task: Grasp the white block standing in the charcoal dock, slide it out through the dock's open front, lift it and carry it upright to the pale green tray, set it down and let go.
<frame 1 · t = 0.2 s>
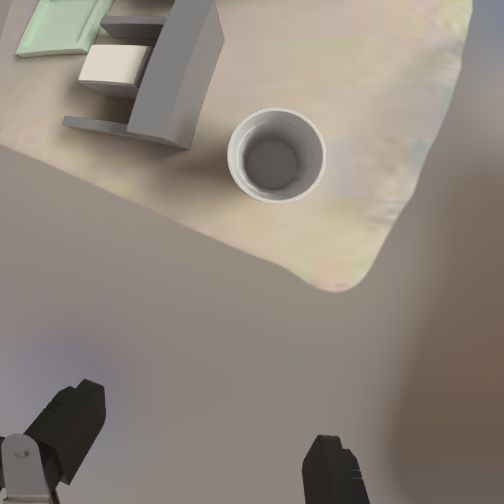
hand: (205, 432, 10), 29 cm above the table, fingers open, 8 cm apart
cup: (271, 164, 36), on the table
tray: (67, 21, 31), on the table
bay: (141, 81, 33), on the table
white block: (135, 81, 33), on the table
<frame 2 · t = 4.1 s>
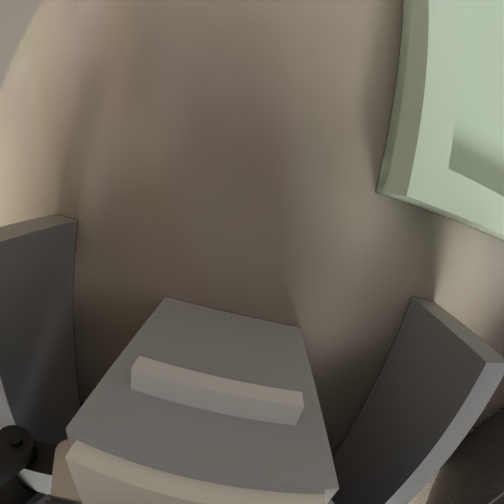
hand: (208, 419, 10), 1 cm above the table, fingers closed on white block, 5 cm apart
bay: (210, 412, 12), on the table
white block: (213, 396, 12), on the table, touching gripper
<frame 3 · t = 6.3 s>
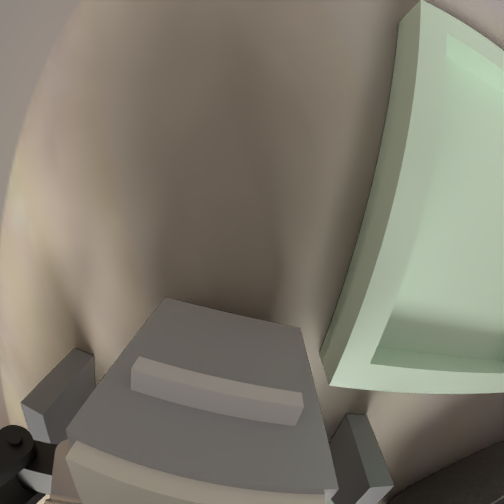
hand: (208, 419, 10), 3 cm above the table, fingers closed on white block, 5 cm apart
bowl: (460, 475, 16), on the table
tray: (482, 221, 11), on the table
bay: (199, 471, 15), on the table
white block: (213, 396, 12), point 1 cm above the table, touching gripper
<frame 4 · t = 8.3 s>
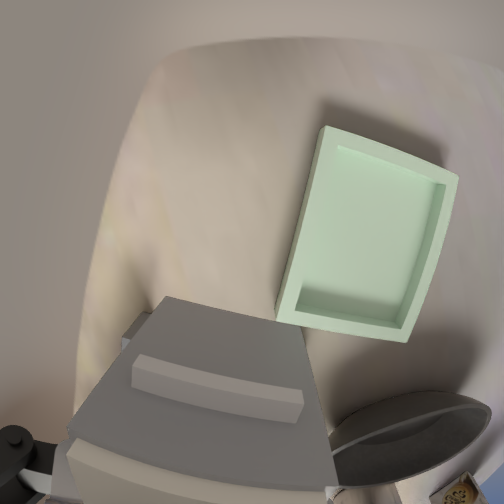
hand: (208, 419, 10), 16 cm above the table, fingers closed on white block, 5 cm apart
bowl: (395, 415, 30), on the table
tray: (367, 239, 25), on the table
bay: (211, 389, 29), on the table
coffee box: (451, 486, 36), on the table
white block: (214, 395, 12), point 15 cm above the table, touching gripper
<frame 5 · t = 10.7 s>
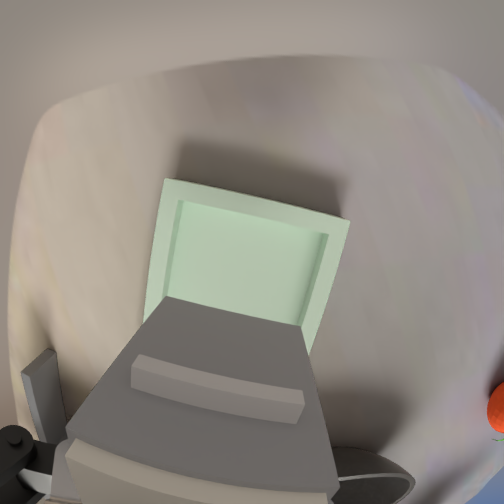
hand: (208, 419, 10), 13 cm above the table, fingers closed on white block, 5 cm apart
bowl: (306, 466, 28), on the table
tray: (234, 297, 23), on the table
bay: (112, 421, 27), on the table
clementine: (494, 393, 26), on the table
white block: (213, 395, 12), point 12 cm above the table, touching gripper
when the fingers open (4 cm above the table, at t = 12.8 s): white block drops 1 cm, resting on tray.
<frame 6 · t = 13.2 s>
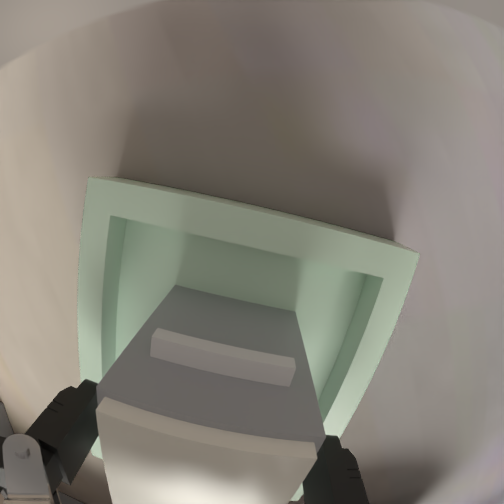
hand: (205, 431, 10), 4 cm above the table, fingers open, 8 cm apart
tray: (219, 366, 14), on the table
bay: (78, 482, 18), on the table
white block: (217, 377, 13), point 1 cm above the table, touching tray
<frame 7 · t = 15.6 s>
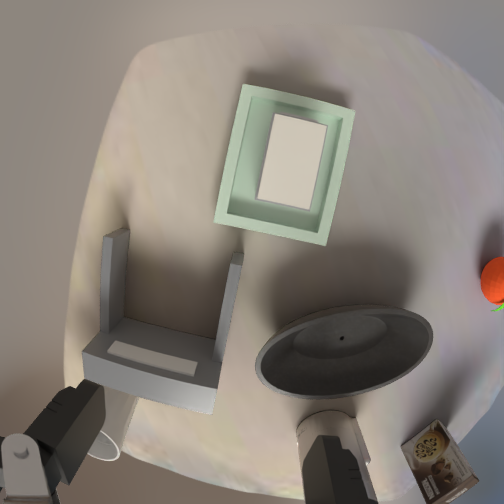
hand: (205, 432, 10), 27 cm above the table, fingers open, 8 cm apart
bowl: (338, 331, 39), on the table
cup: (121, 390, 42), on the table
tray: (284, 164, 34), on the table
bay: (172, 294, 37), on the table
clementine: (485, 276, 37), on the table
coffee box: (424, 436, 45), on the table
white block: (284, 164, 33), point 1 cm above the table, touching tray
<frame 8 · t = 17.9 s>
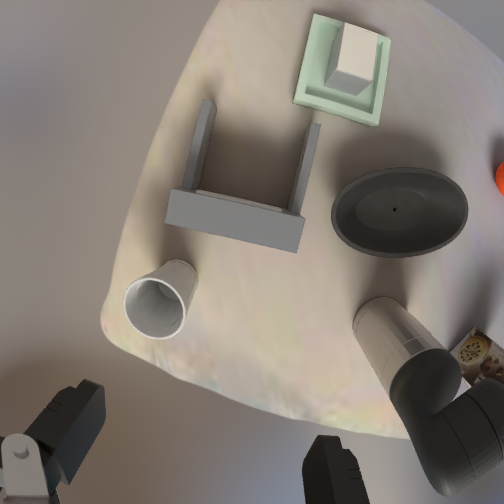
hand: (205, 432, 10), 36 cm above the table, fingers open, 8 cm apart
bowl: (390, 208, 43), on the table
cup: (178, 279, 47), on the table
tray: (342, 70, 39), on the table
bay: (250, 164, 42), on the table
clementine: (498, 181, 41), on the table
coffee box: (464, 349, 49), on the table
white block: (344, 68, 38), point 1 cm above the table, touching tray
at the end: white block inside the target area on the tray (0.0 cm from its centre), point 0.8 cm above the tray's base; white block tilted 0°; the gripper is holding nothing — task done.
